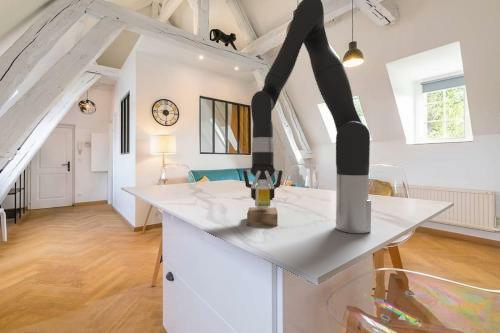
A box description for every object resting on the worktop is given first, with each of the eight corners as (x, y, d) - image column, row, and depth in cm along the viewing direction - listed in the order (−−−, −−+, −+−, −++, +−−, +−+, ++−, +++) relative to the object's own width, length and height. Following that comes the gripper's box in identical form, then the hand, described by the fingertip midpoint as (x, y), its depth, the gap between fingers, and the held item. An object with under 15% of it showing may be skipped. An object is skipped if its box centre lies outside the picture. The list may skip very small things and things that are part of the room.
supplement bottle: (252, 206, 82) (252, 179, 82) (263, 204, 86) (263, 178, 85) (262, 208, 78) (262, 180, 78) (273, 206, 81) (273, 179, 81)
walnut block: (276, 218, 87) (276, 207, 86) (277, 226, 77) (277, 214, 76) (249, 217, 87) (249, 207, 87) (247, 225, 77) (247, 213, 77)
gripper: (282, 151, 84) (282, 198, 85) (243, 151, 85) (243, 197, 86) (284, 150, 77) (284, 201, 77) (241, 150, 78) (241, 201, 78)
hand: (262, 199), depth 82 cm, fingers closed on supplement bottle, 5 cm apart
